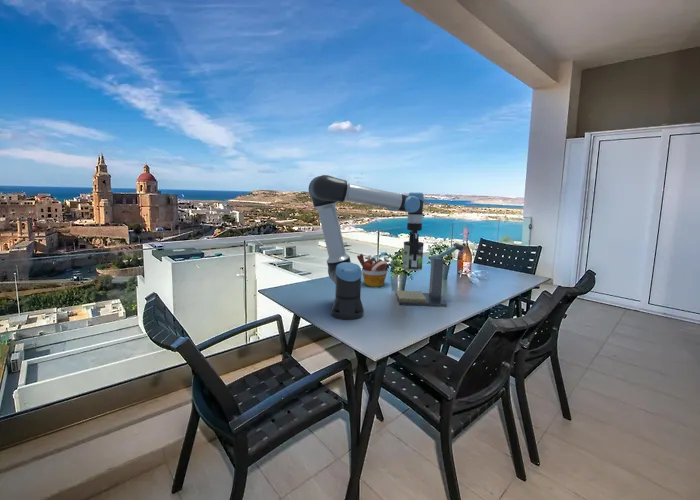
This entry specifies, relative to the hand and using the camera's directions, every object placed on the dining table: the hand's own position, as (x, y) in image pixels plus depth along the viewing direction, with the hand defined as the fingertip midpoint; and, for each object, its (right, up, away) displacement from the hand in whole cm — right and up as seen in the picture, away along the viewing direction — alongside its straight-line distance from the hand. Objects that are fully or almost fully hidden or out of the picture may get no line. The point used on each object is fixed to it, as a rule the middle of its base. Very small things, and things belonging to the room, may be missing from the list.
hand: (412, 264), depth 170 cm
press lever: (+20, +4, +5) cm, 21 cm away
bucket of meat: (-19, -14, +31) cm, 39 cm away
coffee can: (0, -2, 0) cm, 2 cm away
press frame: (+4, -19, +3) cm, 20 cm away
